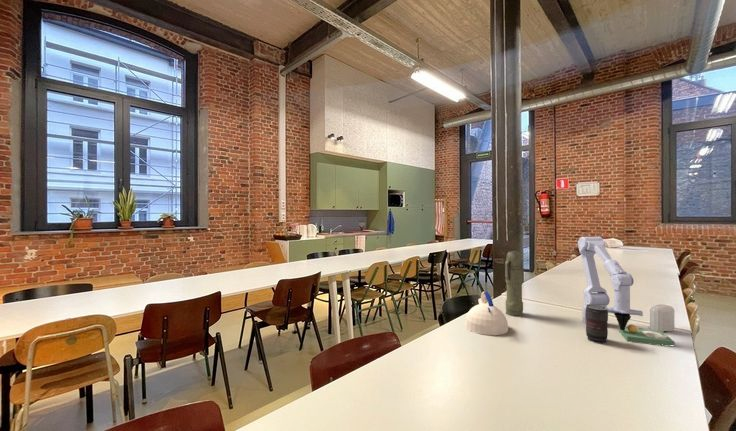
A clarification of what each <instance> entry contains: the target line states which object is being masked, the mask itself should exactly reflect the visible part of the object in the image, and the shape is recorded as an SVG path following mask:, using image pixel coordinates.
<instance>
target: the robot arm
mask: <svg viewBox="0 0 736 431" xmlns="http://www.w3.org/2000/svg"><path fill="white" fill-rule="evenodd" d="M577 246H578V250H579V254H580V257H581V260H582V266H583V271H584V275H585V279H586V282H587V287H586V288H585V289H584V290H583V302H584V303H585V304H583V305H582V307H581V308H582V310H581V311H582V321H583V323H584V325H586V307H587V305H589V304H593V305H600V306H604V307H606V308H607V310H608V314H613V315H614V317H615V318H616V321H617V323H618V329H619V328H620V330H625V328H627V324H628V323H629V321H630V320H631V318H632V317H631V316H639V317H643V316H644V311H642V310H638V309H631V287H632V286H633V285H634V277H633V275H632V274H631V273H629V272H627V271H625V269H623V267H622V266H621V265H620V263H619V262H618V261H617V260H615V259H612V257H611V255H610V254H609V251H608V250H607V249H606V247H605V246H606V242H605V240H604V239H603V237H601V236H580V237H579V239H578V241H577ZM595 254H596V255H597V256H598V257H599V258H600V259H601V260H602V262H603V263H604V264H603V267H604V268H605V270H606V271H607V273H608V274H609V276H610V277H611V278H610V282H611V285H612V289H613V296H614V297H613V298H614V300H613V307H608V306H609V304H610V302H611V301H610V296H609V295H608V292H607V290H606V289H605V288H603V287H602V286H601V284H600V283H601V282H600V279H599V275H598V271H597V266H596V260H595V256H594V255H595Z"/></svg>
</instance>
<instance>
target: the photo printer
mask: <svg viewBox="0 0 736 431" xmlns="http://www.w3.org/2000/svg"><path fill="white" fill-rule="evenodd" d="M649 330H651V331H660V332H663V333H665V332H664V331H668V332H674V331H675V309H674V307H673V306H672V305H671V306H670V305H667V304H661V303H660V304H656V305H653V306H651V307H650V309H649ZM673 330H674V331H673Z"/></svg>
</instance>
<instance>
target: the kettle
mask: <svg viewBox="0 0 736 431" xmlns="http://www.w3.org/2000/svg"><path fill="white" fill-rule="evenodd" d="M477 301H478V304H476V305H474V306H472V307H471V308H470V309H469V311H468V312H467V314H466V315H465V324H464V327H465V328H466V329H467V330H469V331H470V332H472V333H475V334H479V335H483V336H500V335H501V336H502V335H505V334H507V333H508V332H509V325H508V324H509V323H508V320H507V317H506V315H505V314H504V312H503V311H502V310H501V309H499V308H498V307H497V306H495V305H494V302H493V299H492V297H491V294H490V293H489V292H488V291H482V293H481V295H480V298H478V299H477Z"/></svg>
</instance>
